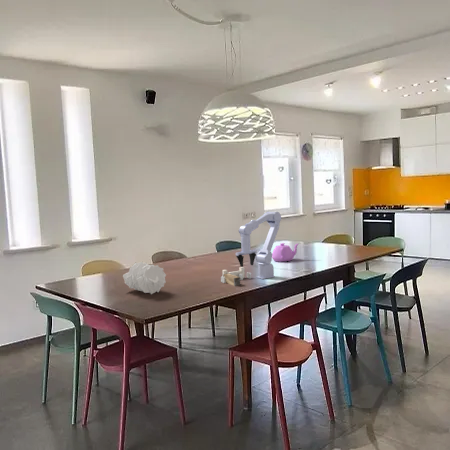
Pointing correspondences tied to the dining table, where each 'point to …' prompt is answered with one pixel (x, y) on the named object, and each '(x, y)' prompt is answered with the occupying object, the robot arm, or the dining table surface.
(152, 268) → the white faceted lump
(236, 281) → the rail
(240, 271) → the white comb rack
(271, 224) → the robot arm
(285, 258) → the teapot
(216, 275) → the dining table surface
